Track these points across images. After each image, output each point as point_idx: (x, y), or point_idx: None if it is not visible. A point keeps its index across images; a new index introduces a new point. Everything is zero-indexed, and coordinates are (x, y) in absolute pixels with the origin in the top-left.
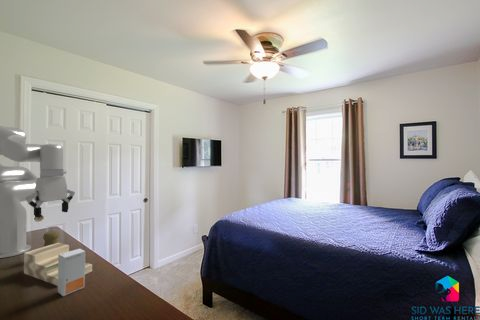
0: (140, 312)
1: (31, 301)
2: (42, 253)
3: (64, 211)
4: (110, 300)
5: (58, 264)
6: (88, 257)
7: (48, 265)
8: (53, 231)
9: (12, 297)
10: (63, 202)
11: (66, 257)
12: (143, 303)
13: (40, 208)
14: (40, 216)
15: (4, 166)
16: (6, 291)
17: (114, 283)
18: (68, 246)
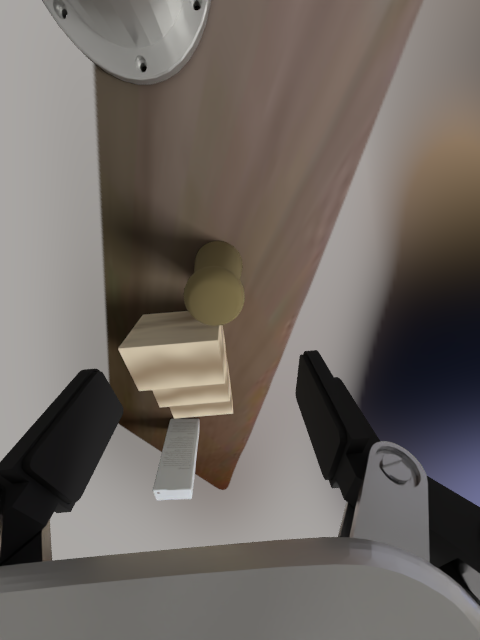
0: (209, 480)
1: (139, 414)
2: (156, 388)
3: (297, 387)
4: (204, 459)
5: (158, 468)
6: (269, 346)
7: (164, 403)
8: (221, 310)
9: (119, 389)
10: (348, 463)
11: (159, 499)
12: (219, 475)
13: (74, 498)
14: (116, 417)
15: None
16: (111, 366)
17: (228, 442)
18: (223, 381)
